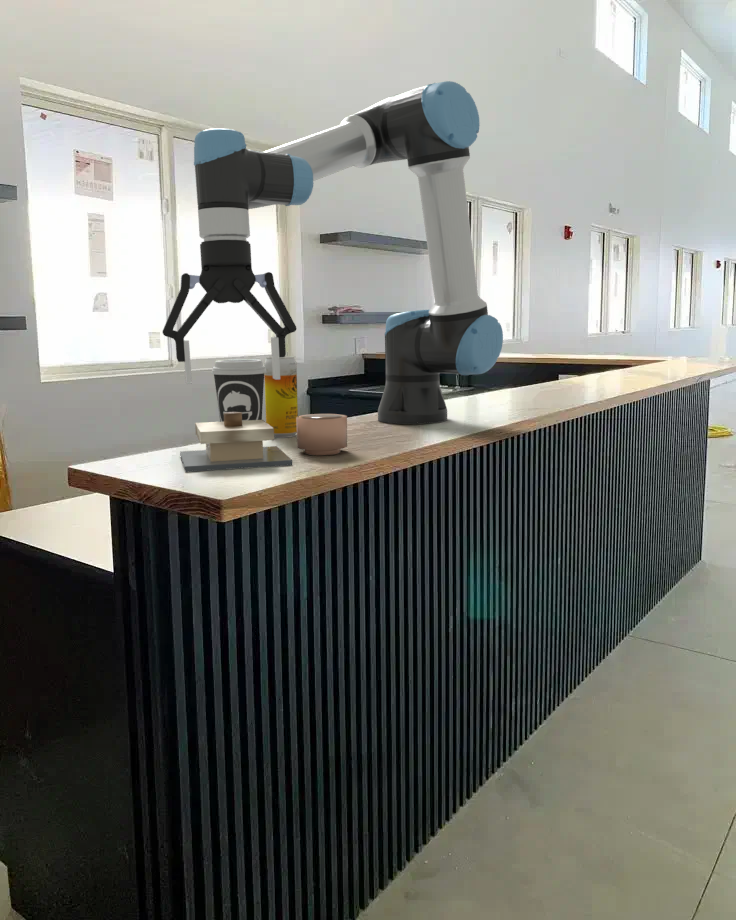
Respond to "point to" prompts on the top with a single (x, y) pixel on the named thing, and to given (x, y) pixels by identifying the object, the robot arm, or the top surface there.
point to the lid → (233, 430)
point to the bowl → (321, 433)
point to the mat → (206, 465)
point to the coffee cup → (240, 387)
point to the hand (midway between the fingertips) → (233, 381)
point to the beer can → (282, 397)
